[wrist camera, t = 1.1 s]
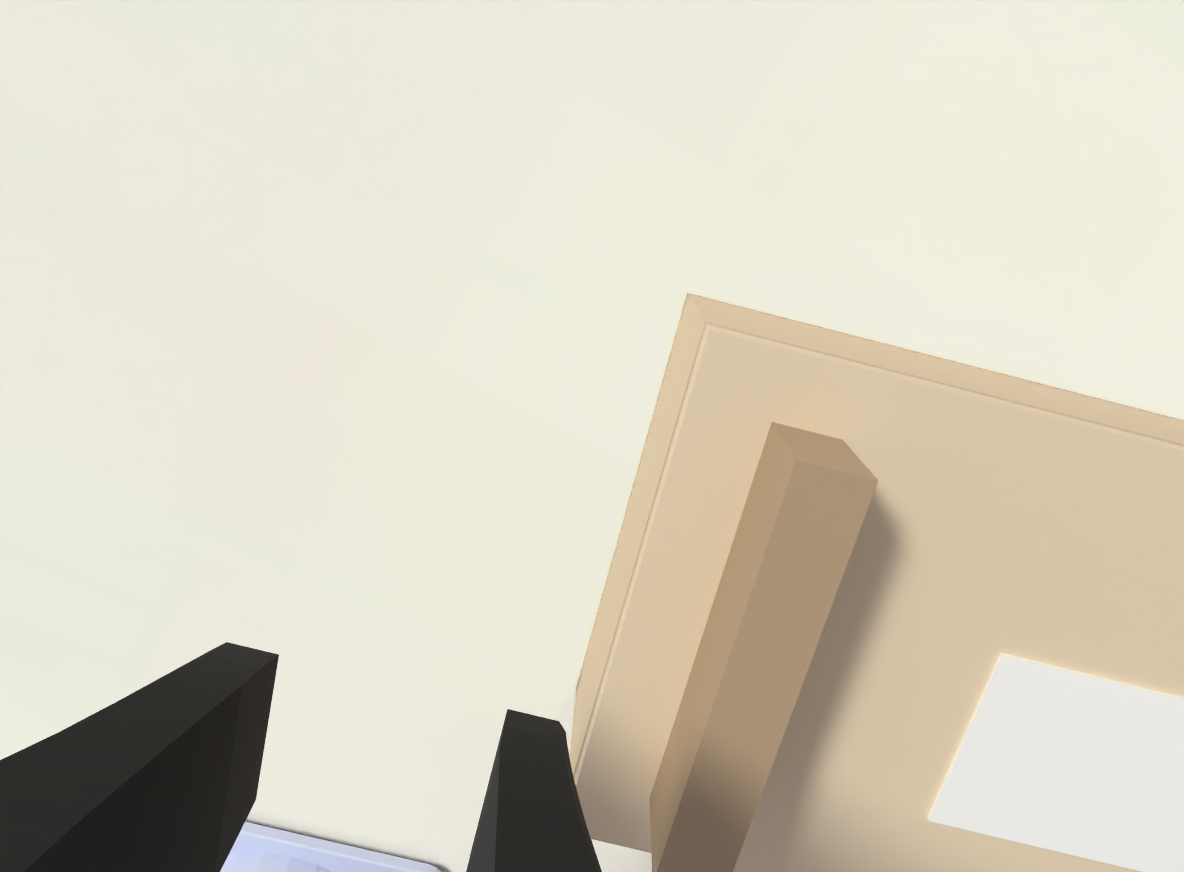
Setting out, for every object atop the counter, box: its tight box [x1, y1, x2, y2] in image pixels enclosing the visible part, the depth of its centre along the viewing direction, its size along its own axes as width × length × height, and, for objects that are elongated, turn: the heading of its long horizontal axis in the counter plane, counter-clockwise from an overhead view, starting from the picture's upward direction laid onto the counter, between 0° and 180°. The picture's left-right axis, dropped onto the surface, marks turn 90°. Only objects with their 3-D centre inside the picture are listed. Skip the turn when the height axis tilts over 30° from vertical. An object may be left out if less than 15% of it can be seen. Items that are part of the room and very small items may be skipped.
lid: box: [574, 324, 1184, 872], centre depth 14 cm, size 14×10×2 cm
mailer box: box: [570, 293, 1184, 778], centre depth 18 cm, size 14×10×4 cm
